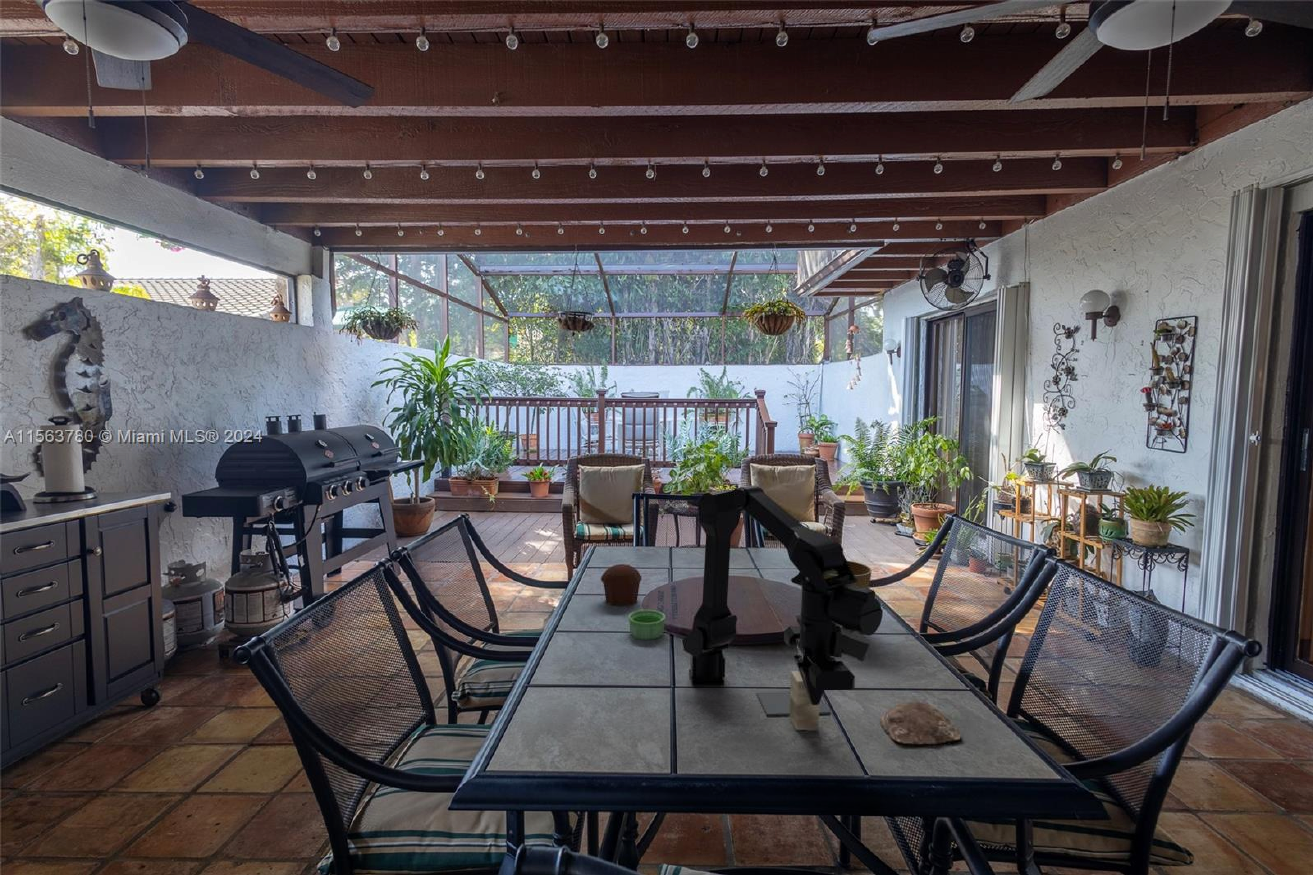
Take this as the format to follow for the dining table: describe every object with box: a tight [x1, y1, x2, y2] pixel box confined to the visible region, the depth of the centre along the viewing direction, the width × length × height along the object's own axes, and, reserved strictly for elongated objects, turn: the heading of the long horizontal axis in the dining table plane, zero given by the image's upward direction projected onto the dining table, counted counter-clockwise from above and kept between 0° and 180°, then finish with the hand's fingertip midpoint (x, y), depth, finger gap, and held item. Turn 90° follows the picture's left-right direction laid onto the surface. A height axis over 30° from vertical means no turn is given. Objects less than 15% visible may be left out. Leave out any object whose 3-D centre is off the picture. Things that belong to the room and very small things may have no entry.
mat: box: [756, 690, 831, 717], centre depth 117 cm, size 12×8×1 cm, turn 94°
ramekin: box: [627, 609, 666, 641], centre depth 150 cm, size 9×9×4 cm
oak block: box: [789, 670, 820, 731], centre depth 110 cm, size 4×4×9 cm
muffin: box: [600, 563, 642, 607], centre depth 172 cm, size 12×11×10 cm
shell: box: [880, 701, 962, 748], centre depth 109 cm, size 12×13×4 cm
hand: (814, 704), depth 104 cm, fingers closed
